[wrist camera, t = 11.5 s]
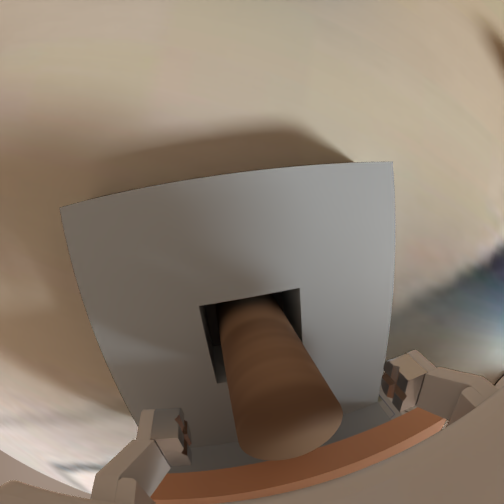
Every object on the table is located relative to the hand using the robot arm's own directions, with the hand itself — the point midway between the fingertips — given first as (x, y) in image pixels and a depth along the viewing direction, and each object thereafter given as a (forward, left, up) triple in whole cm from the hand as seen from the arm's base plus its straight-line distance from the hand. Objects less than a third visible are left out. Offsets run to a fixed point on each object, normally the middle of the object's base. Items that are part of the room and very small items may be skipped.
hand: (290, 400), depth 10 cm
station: (0, +1, -9) cm, 9 cm away
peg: (0, 0, -8) cm, 8 cm away
